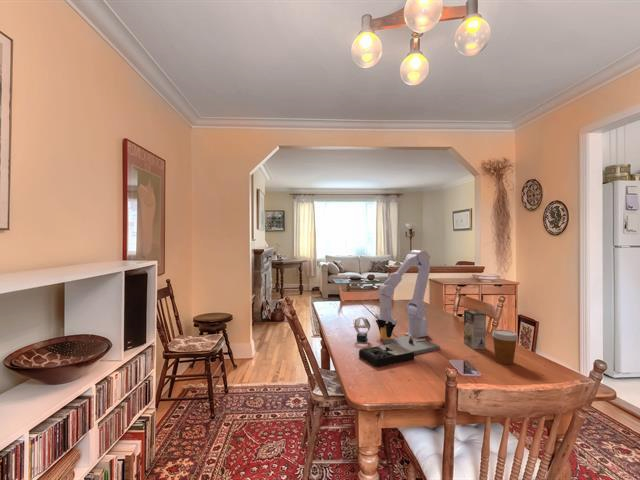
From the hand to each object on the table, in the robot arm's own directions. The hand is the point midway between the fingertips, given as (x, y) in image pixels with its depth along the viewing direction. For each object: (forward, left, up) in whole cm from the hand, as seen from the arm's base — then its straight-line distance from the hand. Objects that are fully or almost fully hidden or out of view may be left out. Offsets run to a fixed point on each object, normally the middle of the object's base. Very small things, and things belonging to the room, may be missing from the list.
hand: (385, 335), depth 169 cm
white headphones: (+1, -23, -2) cm, 23 cm away
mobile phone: (-4, +44, -2) cm, 44 cm away
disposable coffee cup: (-24, +47, -2) cm, 53 cm away
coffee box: (-30, +28, -2) cm, 41 cm away
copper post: (-3, +15, 0) cm, 15 cm away
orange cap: (0, 0, -1) cm, 1 cm away
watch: (+12, -3, -2) cm, 12 cm away
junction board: (-3, +15, -1) cm, 15 cm away
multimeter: (+17, +22, -2) cm, 28 cm away
